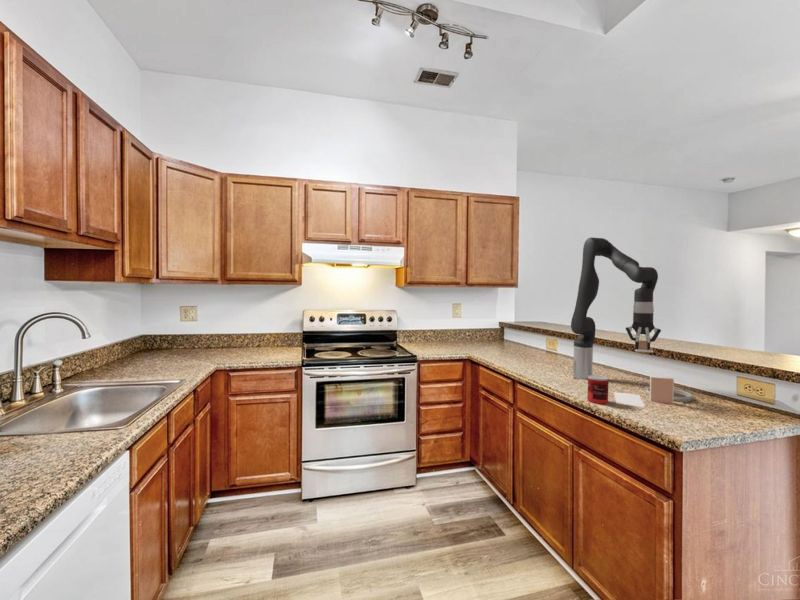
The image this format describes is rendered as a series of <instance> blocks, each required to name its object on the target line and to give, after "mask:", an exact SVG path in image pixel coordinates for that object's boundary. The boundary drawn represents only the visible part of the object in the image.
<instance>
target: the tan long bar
mask: <svg viewBox="0 0 800 600" xmlns="http://www.w3.org/2000/svg"><path fill="white" fill-rule="evenodd" d="M634 351H635V352H636V353H640V354H646V353H654V350H652V349H650V350H647V341H646V340H640V339H639V349H636V348H635V350H634Z"/></svg>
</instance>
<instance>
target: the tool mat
mask: <svg viewBox="0 0 800 600" xmlns="http://www.w3.org/2000/svg"><path fill="white" fill-rule="evenodd" d="M613 395H614V399H615V402H616V404H617V405H624V406H631V407H641V408H646V406H645V404H644V401H643V400H642V398H641V395H640V394H634V393H628V392H627V393H626V392H616V391H613Z"/></svg>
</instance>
